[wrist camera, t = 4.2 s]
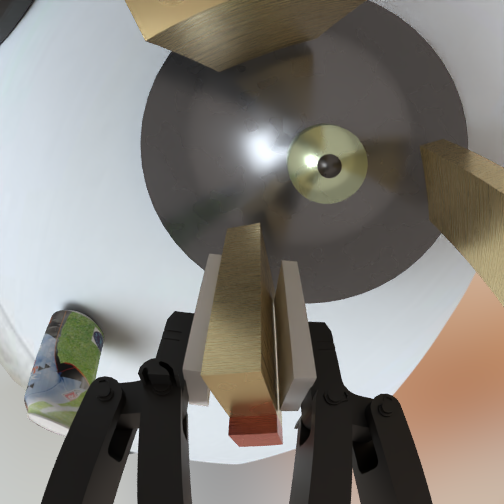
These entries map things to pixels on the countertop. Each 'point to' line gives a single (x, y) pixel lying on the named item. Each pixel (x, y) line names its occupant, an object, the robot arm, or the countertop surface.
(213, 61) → the knob
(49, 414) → the beverage can
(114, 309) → the countertop surface
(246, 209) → the tribrach plate
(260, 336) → the knob
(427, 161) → the knob
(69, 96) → the countertop surface
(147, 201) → the countertop surface
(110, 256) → the countertop surface
